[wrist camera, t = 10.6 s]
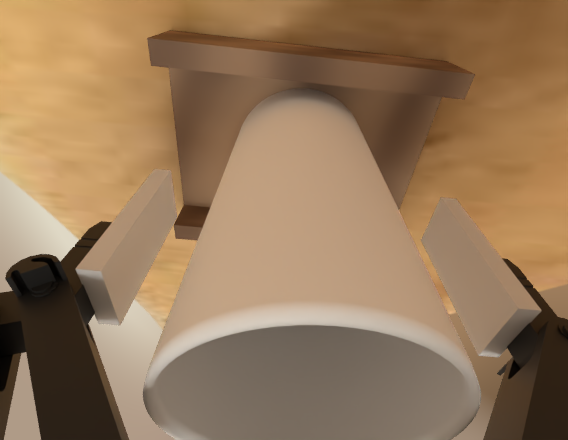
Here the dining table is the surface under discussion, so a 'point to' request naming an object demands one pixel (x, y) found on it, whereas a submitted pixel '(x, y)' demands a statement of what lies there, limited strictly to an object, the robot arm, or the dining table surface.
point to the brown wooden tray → (283, 76)
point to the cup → (307, 299)
